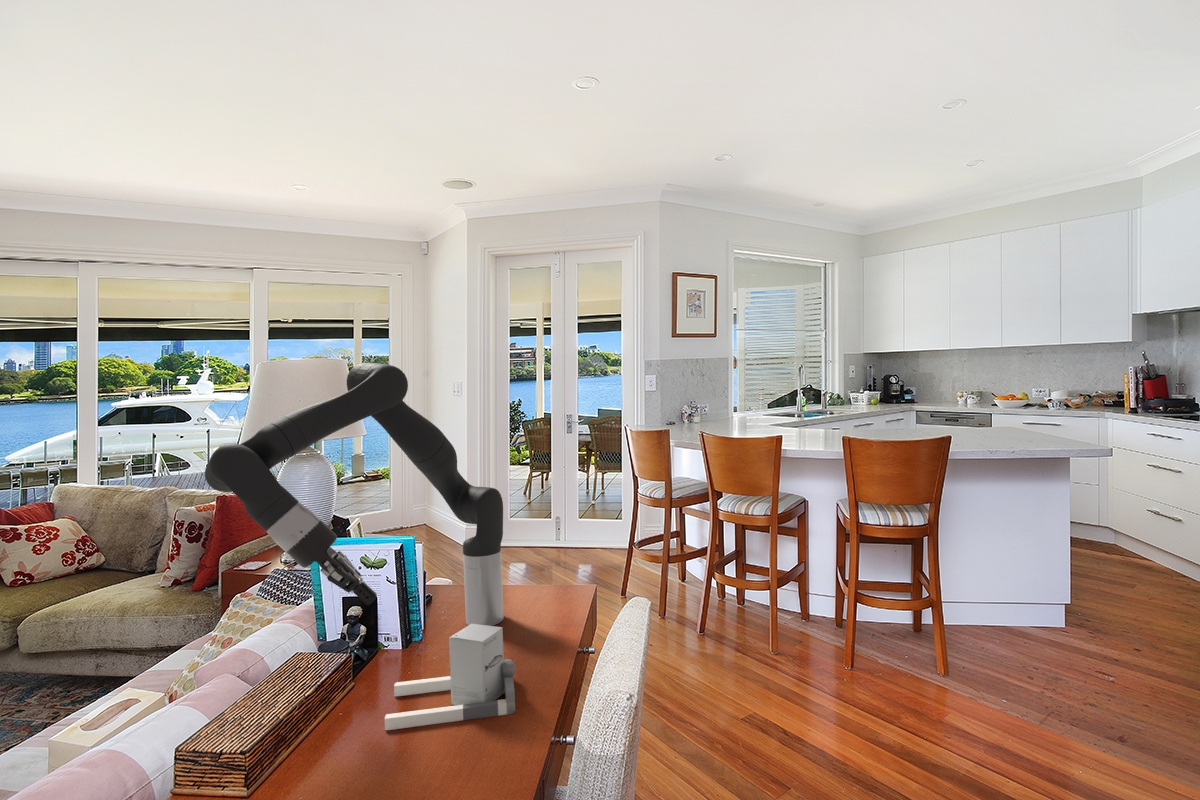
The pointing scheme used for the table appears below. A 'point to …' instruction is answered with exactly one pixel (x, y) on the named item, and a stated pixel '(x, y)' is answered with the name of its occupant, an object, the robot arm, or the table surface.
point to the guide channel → (451, 711)
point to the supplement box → (476, 664)
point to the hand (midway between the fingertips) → (373, 600)
